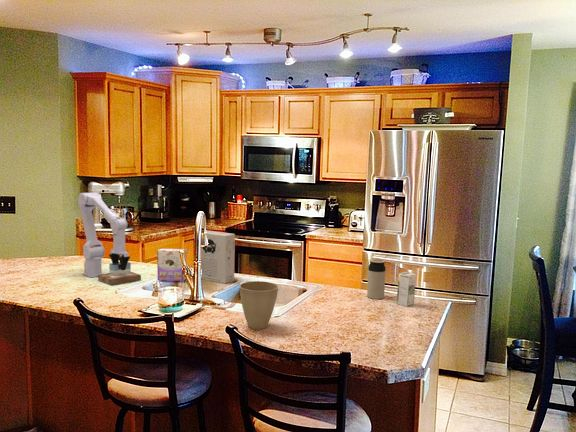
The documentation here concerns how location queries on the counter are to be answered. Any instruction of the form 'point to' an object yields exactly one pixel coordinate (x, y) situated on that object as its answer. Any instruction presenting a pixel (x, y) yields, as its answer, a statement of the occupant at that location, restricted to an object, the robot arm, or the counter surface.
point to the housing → (119, 269)
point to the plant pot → (258, 302)
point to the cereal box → (218, 257)
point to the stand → (119, 278)
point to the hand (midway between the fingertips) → (119, 268)
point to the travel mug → (376, 279)
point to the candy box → (170, 265)
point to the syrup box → (406, 288)
